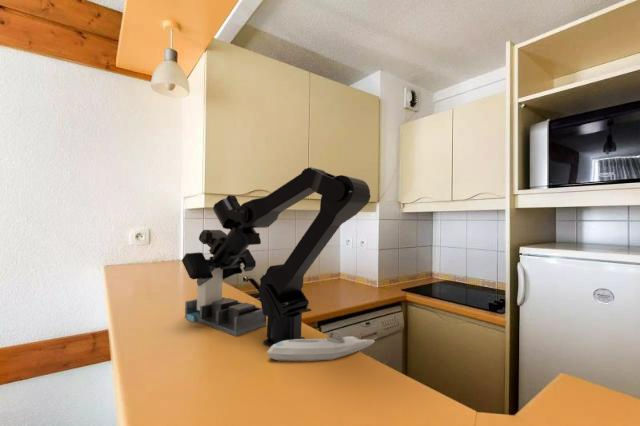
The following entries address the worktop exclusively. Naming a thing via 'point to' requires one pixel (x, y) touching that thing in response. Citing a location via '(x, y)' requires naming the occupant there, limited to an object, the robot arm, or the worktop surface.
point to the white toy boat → (317, 348)
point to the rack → (227, 315)
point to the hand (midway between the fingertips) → (207, 282)
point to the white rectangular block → (210, 289)
